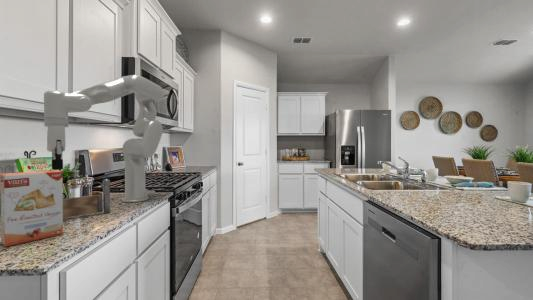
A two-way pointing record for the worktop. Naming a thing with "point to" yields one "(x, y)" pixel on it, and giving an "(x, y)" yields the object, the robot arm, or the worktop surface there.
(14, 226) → the cracker box
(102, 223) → the worktop surface
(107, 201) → the gatepost
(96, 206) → the gate
